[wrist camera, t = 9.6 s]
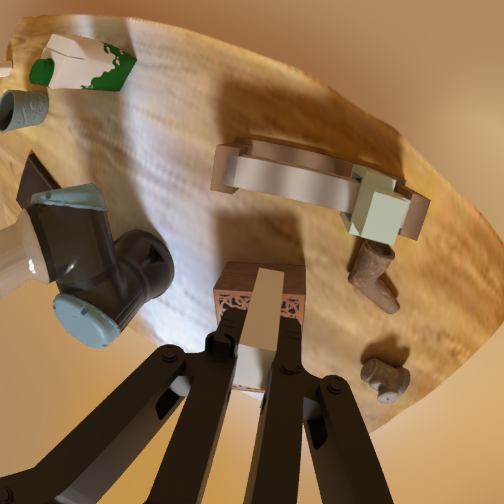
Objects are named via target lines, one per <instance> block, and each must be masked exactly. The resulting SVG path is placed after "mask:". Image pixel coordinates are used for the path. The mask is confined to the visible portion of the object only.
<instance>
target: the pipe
mask: <svg viewBox="0 0 504 504" xmlns="http://www.w3.org/2000/svg"><path fill="white" fill-rule="evenodd" d="M394 258H395V253H394V251H393V250H392V248H391V247H390V246H389V244H385V243H382V242H378V241H374V240H371V239H367V238H365V240H364V241H363V243H362V246H361V248H360V251H359V253H358V255H357V258H356V260H355V263H354V266H353V269H352V271H351V273H350V274H349V276H348V282H349V283H351V284H352V285H354V286H355V287H356V288H358V289H359V290H360V291H361V292H362V293H363V294H364V295H365V296H366V297H367V298H369V299H370V300H371V301H372V302H374V303H375V304H376V305H377V306H378V307H380V308H381V309H382V310H384V311H385V312H386V313H388V314H394V313H395V312H397V311H398V310H399V309H400V305H399V303H398V301H397V300H396V299H395V297H394V296H393V294H392V293H391V291H390V290H389V289H388V287H387V286H386V285H385V284H384V283H383V281H382V280H381V279H380V278H379V276H381V275H382V273H384V271H385V270H386V269H387V268H388V266H389V265H390V263H391V261H393V260H394Z"/></svg>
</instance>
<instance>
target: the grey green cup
mask: <svg viewBox="0 0 504 504" xmlns="http://www.w3.org/2000/svg"><path fill="white" fill-rule="evenodd" d="M48 108H49V99H48V96H47V94H46V93H43V92H30V91H27V92H25V91H20V90H8V91H6V92H5V93H4V94H3V96H2V98H1V100H0V132H2V133H3V132H7V131H11V130H14V129H19V128H23V127H28V126H33V125H38V124H40V123H42V122H43V121H44V119H45V117H46V115H47V112H48Z"/></svg>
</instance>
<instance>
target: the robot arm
mask: <svg viewBox="0 0 504 504" xmlns="http://www.w3.org/2000/svg"><path fill="white" fill-rule="evenodd" d="M31 203H32V205H31V206H28V207H26V208H24V209H22V210H21V213H20V215H19V217H18V219H17V221H16V223H15V224H13V225H11V226H8V227H6V228H4V229H2V230H0V299H1V298H2V297H4V296H6V295H7V294H9V293H11V292H13V291H14V290H16V289H18V288H20V287H21V286H23V285H25V284H27V283H29V282H31V281H33V280H37V281H40V282H42V283H44V284H49V283H51V282H53V281H56V283H57V286H58V289H59V291H60V294H58V295H56V297H55V299H54V301H53V309H54V312H55V315H56V316H57V319H58V320H59V322H60V323H61V324H62V326H63V327H64V328H65V329H66V330H67V332H68V333H70V334H71V335H72V336H73V337H74V338H76V339H77V340H78V341H80V342H81V343H83V344H85V345H87V346H89V347H92V348H97V349H101V348H105V347H108V346H109V345H110V344H111V343H112V342H113V341H114V340H115V338H117V337H119V335H120V334H121V332H122V331H123V330H124V328H125V327H126V326H127V325H128V323H129V322H130V321H131V320H132V318H133V317H134V316H135V314H136V313H137V312H138V311H139V309H140V308H141V307H142V306H143V304H144V303H146V302H148V301H150V300H151V299H154V298H157V297H159V296H161V295H162V294H163V293H164V292H165V291H166V290H167V289H168V288H169V286H170V285H171V283H172V281H173V278H174V265H173V261H172V258H171V256H170V254H169V252H168V250H167V249H166V247H165V246H164V245H163V243H162V242H161V241H160V240H158V239H157V238H156V237H155V236H153V235H151V234H149V233H147V232H144V231H140V230H133V231H129V232H127V233H125V234H123V235H122V236H120V237H119V238H118V239H117V240H116V241H115V242H113V238H112V234H111V230H110V225H109V221H108V216H107V208H106V207H105V204H104V200H103V196H102V192H101V189H100V188H99V187H98V186H97V185H95V184H84V185H78V186H72V187H66V188H61V189H56V190H50V191H46V192H41V193H36V194H33V195H32V197H31ZM283 281H284V272H280V271H275V270H269V269H264V268H259V271H258V275H257V278H256V282H255V286H254V290H253V293H252V297H251V301H250V304H249V308H248V310H243V309H239V308H234V307H229V308H228V309H227V310H225V311H224V312H223V315H222V317H221V320H220V323H219V325H218V328H217V330H216V331H214V332H212V333H210V334H208V335H207V337H206V340H205V351H203V352H199V353H185V352H184V351H183V349H181V348H180V347H179V346H176V345H172V344H166V345H163V346H160V347H159V348H157V349H156V350H155V351H154V352H153V353H152V354H151V355H150V356H149V357H148V358H147V359H146V360H145V361H144V362H143V363H142V364H141V365H140V366H139V367H138V368H137V369H136V370H135V371H134V372H132V373H131V374H130V375H129V376H128V377H127V378H126V379H125V380H124V381H123V382H122V383H121V384H120V385H119V386H118V387H117V388H116V389H115V390H114V391H113V392H112V393H111V394H110V395H109V396H108V397H107V398H106V399H105V400H103V402H102V403H100V404H99V406H97V407H96V408H95V409H94V410H93V411H92V412H91V413H90V414H89V415H88V416H87V417H86V418H85V419H84V420H83V421H82V422H81V423H80V424H79V425H78V426H77V427H76V428H75V429H73V430H72V431H71V432H70V433H69V434H68V435H67V436H66V437H65V438H64V439H63V440H62V441H61V442H60V443H59V444H58V445H57V446H56V447H55V448H54V449H53V450H52V451H51V452H49V453H48V454H47V455H46V456H45V457H44V458H43V459H42V460H41V461H40V462H39V463H38V464H37V465H36V466H35V467H34V468H31V469H28V470H25V471H22V472H19V473H15V474H12V475H8V476H5V477H1V478H0V504H96V503H97V502H98V501H99V500H100V499H101V498H102V496H103V495H104V494H105V493H106V492H107V491H108V490H109V489H110V487H111V486H112V485H113V484H114V483H115V482H116V481H117V480H118V478H119V477H120V476H121V475H122V474H123V473H124V471H125V470H126V469H127V468H128V467H129V466H130V464H131V463H132V462H133V461H134V460H135V459H136V457H137V456H138V455H139V454H140V453H141V451H142V450H143V449H144V448H145V447H146V445H147V444H148V443H149V442H150V441H151V439H152V438H153V437H154V436H155V435H156V433H157V432H158V431H159V430H160V428H161V427H162V426H163V425H164V423H165V422H166V421H167V420H168V418H169V417H170V416H171V415H172V413H173V412H174V411H175V409H176V408H177V407H178V406H179V405H180V403H181V402H182V401H183V399H184V398H185V397H186V396H187V399H186V401H185V404H184V406H183V409H182V411H181V414H180V416H179V419H178V422H177V424H176V427H175V429H174V432H173V434H172V437H171V440H170V442H169V445H168V447H167V450H166V452H165V455H164V458H163V460H162V463H161V466H160V468H159V471H158V473H157V476H156V478H155V481H154V484H153V486H152V489H151V491H150V494H149V496H148V498H147V500H146V501H145V502H144V503H143V504H201V502H202V498H203V494H204V491H205V487H206V484H207V480H208V477H209V473H210V469H211V466H212V462H213V458H214V455H215V451H216V447H217V444H218V439H219V436H220V432H221V428H222V425H223V421H224V417H225V414H226V410H227V406H228V402H229V398H230V394H231V389H232V384H236V385H241V386H246V387H251V388H256V389H262V390H265V393H264V396H263V399H262V403H261V406H260V408H261V412H260V417H259V423H258V429H257V435H256V441H255V446H254V451H253V457H252V462H251V468H250V472H249V478H248V483H247V488H246V493H245V497H244V502H243V504H297V494H298V484H299V473H300V460H301V445H302V426H303V424H304V428H305V432H306V436H307V440H308V445H309V449H310V453H311V457H312V461H313V465H314V469H315V474H316V478H317V482H318V486H319V490H320V495H321V499H322V503H323V504H394V503H393V500H392V497H391V494H390V492H389V488H388V485H387V483H386V480H385V477H384V474H383V471H382V468H381V466H380V463H379V460H378V458H377V455H376V452H375V450H374V447H373V444H372V442H371V439H370V436H369V434H368V431H367V429H366V426H365V423H364V421H363V418H362V416H361V413H360V411H359V408H358V406H357V403H356V401H355V398H354V396H353V394H352V391H351V389H350V386H349V384H348V383H347V381H346V380H344V379H343V378H342V377H339V376H337V375H328V376H325V377H324V378H323V379H321V378H318V377H316V376H313V375H311V374H309V373H308V372H307V371H306V370H305V369H304V368H303V365H302V362H301V339H302V335H301V333H302V326H301V324H300V322H299V321H298V319H295V318H289V317H283V316H280V312H281V302H282V292H283Z"/></svg>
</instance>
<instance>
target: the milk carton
mask: <svg viewBox="0 0 504 504" xmlns="http://www.w3.org/2000/svg"><path fill="white" fill-rule="evenodd" d="M136 61H137V60H136V59H134V58H133V57H131V56H130V55H128V54H127V53H125V52H123V51H122V50H120V49H119V48H116V47H114V46H112V45H110V44H106V43H103V42H100V41H97V40H93V39H90V38H85V37H81V36H75V35H65V34H52V36H51V38H50V40H49V42H48V44H47V46H46V47H45V48H44V50H43V52H42V55H41V57H40V59H39V60H37V61H36V62H35V63H34V65H33V66H32V68H31V71H30V75H29V80H30V83H31V84H40V85H43V86H47V87H50V88H51V89H57V88H73V89H89V90H104V91H120V89H121V87H122V86H123V84H124V82H125V80H126V78H127V77H128V75H129V73H130V71H131V70H132V68H133V66H134V65H135V63H136Z"/></svg>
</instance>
